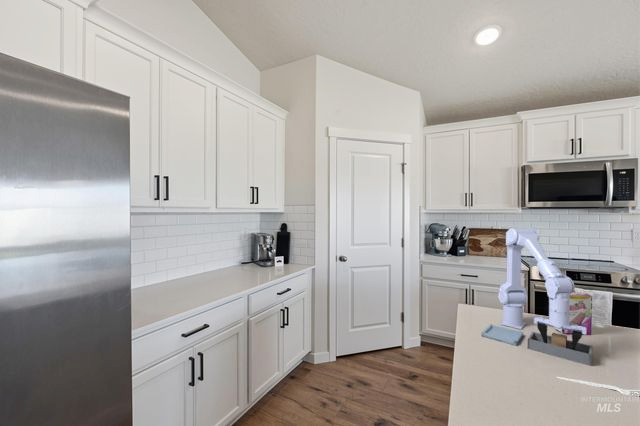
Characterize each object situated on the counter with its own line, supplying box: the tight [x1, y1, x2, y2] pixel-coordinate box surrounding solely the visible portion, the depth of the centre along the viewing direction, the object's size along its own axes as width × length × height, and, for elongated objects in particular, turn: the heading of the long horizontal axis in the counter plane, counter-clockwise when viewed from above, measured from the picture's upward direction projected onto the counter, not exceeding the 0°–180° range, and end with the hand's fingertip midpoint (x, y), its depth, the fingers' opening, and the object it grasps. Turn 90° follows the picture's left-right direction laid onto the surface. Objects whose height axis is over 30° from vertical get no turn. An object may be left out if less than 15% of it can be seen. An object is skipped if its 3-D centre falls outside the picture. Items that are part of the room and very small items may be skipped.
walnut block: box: [550, 332, 568, 348], centre depth 105 cm, size 4×4×6 cm
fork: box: [556, 376, 640, 396], centre depth 84 cm, size 3×20×2 cm, turn 62°
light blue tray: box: [481, 324, 524, 347], centre depth 118 cm, size 12×12×2 cm
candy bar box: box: [554, 291, 593, 336], centre depth 122 cm, size 11×5×16 cm, turn 84°
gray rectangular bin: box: [527, 331, 594, 367], centre depth 105 cm, size 9×17×4 cm, turn 45°
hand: (559, 348), depth 105 cm, fingers open, 7 cm apart
